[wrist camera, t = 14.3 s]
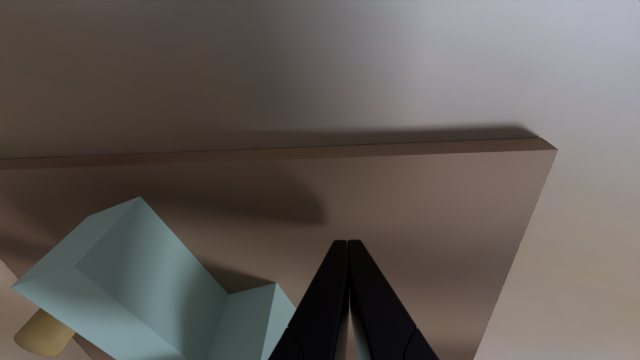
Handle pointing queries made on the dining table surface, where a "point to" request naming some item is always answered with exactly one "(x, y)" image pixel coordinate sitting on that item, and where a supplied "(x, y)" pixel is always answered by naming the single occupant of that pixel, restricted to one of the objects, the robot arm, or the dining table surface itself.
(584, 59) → the dining table surface
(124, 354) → the collar
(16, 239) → the board
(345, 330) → the robot arm
